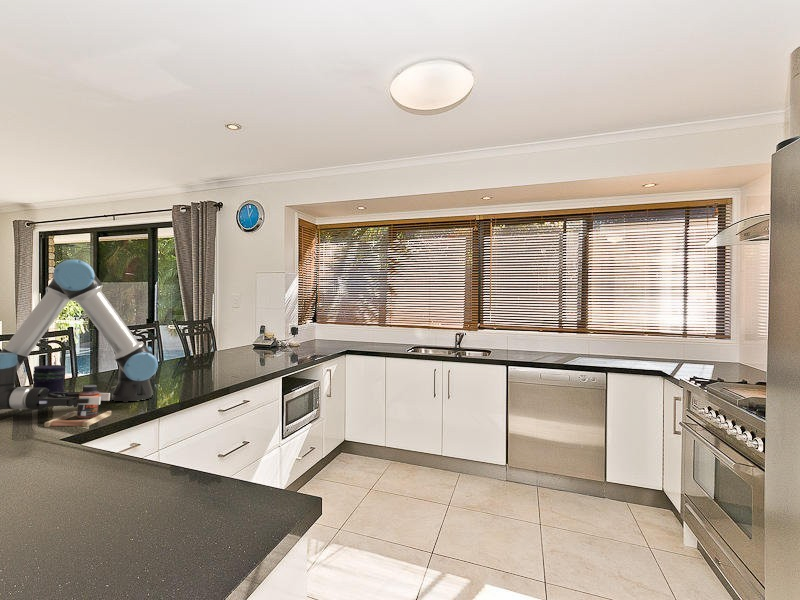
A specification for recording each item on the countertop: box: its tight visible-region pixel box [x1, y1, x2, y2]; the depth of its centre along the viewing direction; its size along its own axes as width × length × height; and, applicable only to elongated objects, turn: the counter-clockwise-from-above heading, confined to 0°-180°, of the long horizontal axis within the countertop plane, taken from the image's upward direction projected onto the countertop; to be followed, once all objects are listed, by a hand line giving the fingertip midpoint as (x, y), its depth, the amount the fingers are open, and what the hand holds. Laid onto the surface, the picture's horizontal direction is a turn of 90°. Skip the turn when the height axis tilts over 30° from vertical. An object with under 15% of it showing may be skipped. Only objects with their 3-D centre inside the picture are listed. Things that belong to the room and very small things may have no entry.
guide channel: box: [43, 410, 112, 428], centre depth 140 cm, size 16×12×1 cm
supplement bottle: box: [76, 384, 100, 420], centre depth 145 cm, size 6×6×11 cm
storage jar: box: [32, 364, 66, 393], centre depth 161 cm, size 10×10×15 cm
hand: (104, 398), depth 146 cm, fingers closed on supplement bottle, 6 cm apart
